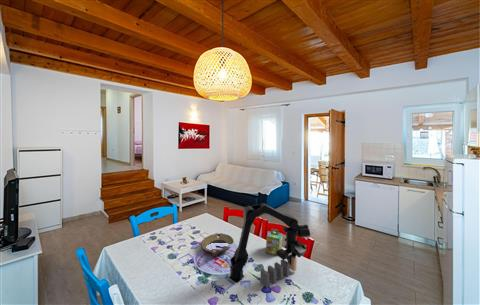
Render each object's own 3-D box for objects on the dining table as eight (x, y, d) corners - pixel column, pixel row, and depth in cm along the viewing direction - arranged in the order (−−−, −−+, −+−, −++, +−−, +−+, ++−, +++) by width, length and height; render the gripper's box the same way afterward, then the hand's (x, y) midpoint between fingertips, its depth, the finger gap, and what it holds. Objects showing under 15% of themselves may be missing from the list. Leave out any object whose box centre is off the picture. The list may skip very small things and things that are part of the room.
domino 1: (266, 287, 106) (266, 274, 106) (260, 282, 110) (260, 269, 110) (269, 286, 107) (269, 273, 107) (263, 281, 111) (263, 268, 111)
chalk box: (265, 253, 138) (265, 231, 137) (269, 246, 146) (269, 226, 145) (279, 256, 134) (279, 234, 133) (282, 249, 143) (282, 228, 142)
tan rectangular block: (294, 271, 117) (294, 259, 116) (287, 266, 121) (287, 255, 120) (296, 270, 118) (296, 258, 117) (289, 265, 122) (289, 254, 121)
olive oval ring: (238, 242, 152) (238, 232, 152) (219, 266, 125) (219, 254, 124) (212, 237, 161) (211, 228, 160) (188, 258, 133) (188, 247, 132)
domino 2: (274, 283, 109) (273, 271, 108) (267, 278, 113) (267, 266, 113) (276, 282, 110) (276, 270, 109) (270, 277, 114) (270, 265, 114)
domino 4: (287, 276, 114) (287, 264, 114) (280, 271, 119) (280, 260, 118) (289, 275, 115) (289, 263, 115) (283, 270, 120) (283, 259, 119)
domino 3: (280, 280, 112) (280, 267, 111) (274, 275, 116) (274, 263, 115) (283, 278, 113) (283, 266, 112) (276, 273, 117) (276, 262, 116)
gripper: (290, 249, 106) (290, 278, 108) (313, 239, 117) (313, 265, 118) (275, 240, 116) (275, 267, 117) (298, 231, 126) (297, 256, 127)
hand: (291, 264), depth 119 cm, fingers closed on tan rectangular block, 2 cm apart
